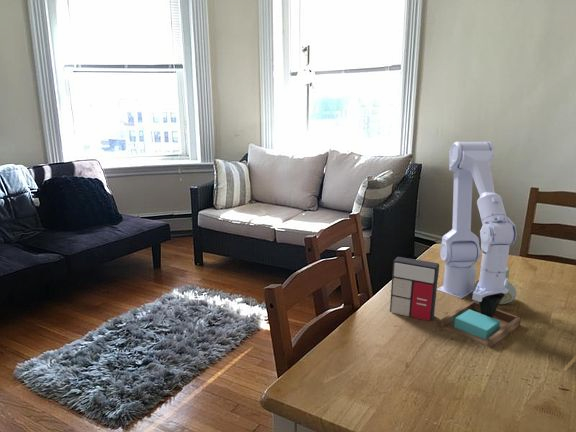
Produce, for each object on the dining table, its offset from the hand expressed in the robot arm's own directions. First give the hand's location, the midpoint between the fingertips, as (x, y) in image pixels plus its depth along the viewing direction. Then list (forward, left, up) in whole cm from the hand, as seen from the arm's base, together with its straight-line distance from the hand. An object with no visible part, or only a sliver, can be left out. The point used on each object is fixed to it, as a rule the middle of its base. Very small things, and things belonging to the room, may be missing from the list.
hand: (486, 318), depth 113 cm
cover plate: (+5, 0, -1) cm, 5 cm away
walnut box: (+3, 0, -1) cm, 3 cm away
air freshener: (-15, -5, -2) cm, 16 cm away
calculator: (+11, -15, -2) cm, 18 cm away
